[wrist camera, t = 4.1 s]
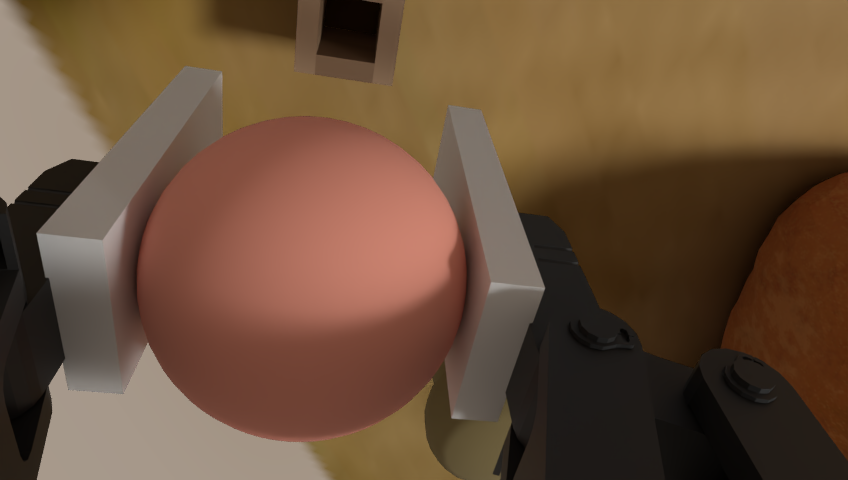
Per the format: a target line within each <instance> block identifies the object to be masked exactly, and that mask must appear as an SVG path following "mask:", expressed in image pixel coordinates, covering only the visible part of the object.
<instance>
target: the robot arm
mask: <svg viewBox="0 0 848 480" xmlns="http://www.w3.org/2000/svg"><path fill="white" fill-rule="evenodd" d="M222 137H223V121H222V71H216V70H209V69H202V68H195V67H189V66H185V67H184V68H183V69H182V70H181V71H180V73H179V74H178V75H177V76H176V77H175V78H174V79H173V80H172V81H171V83H170V84H169V85H168V86H167V87H166V88H165V89H164V90H163V92H162V93H161V94H160V95H159V96H158V97H157V98H156V99H155V101H154V102H153V103H152V104H151V105H150V106H149V107H148V108H147V110H146V111H145V112H144V113H143V114H142V115H141V116H140V117H139V119H138V120H137V121H136V122H135V123H134V124H133V125H132V126H131V127H130V129H129V130H128V131H127V132H126V133H125V134H124V135H123V136H122V138H121V139H120V140H119V141H118V142H117V143H116V144H115V145H114V147H113V148H112V149H111V150H110V151H109V152H108V153H107V154H106V156H105V157H104V158H103V159H102V160H101V161H100V162H92V161H84V160H76V159H71V160H68V161H66V162H64V163H62V164H59V165H57V166H55V167H53V168H51V169H48V170H46V171H44V172H43V173H42V174H41V175H40V176H39V177H38V178H37V179H36V180H35V181H34V182H33V183H32V184H31V185H30V186H29V187H28V190H25V191H24V192H23V193H21V195H19V196H18V197H17V198H16V199H15V203H14V204H10V205H9V206H8V207H7V204H6V202H5V201H4V200H3V199H2V198H1V197H0V480H37V476H38V471H39V467H40V463H41V458H42V454H43V450H44V445H45V441H46V436H47V432H48V428H49V424H50V419H51V415H52V402H51V395H50V391H49V387H48V385H49V384H50V382H51V380H52V379H53V377H54V376H55V374H56V372H57V371H58V369H59V368H60V366H61V364H62V363H63V366H64V371H65V375H66V380H67V386H68V390H77V391H91V392H104V393H118V394H124V391H125V389H126V387H127V385H128V383H129V381H130V379H131V377H132V374H133V372H134V370H135V368H136V366H137V364H138V362H139V360H140V358H141V356H142V353H143V351H144V349H145V347H146V345H147V343H148V340H147V337H146V335H145V332H144V329H143V325H142V321H141V317H140V313H139V307H138V302H137V271H136V268H137V262H138V255H139V250H140V245H141V240H142V236H143V233H144V230H145V228H146V225H147V222H148V219H149V217H150V215H151V213H152V211H153V209H154V207H155V205H156V203H157V201H158V200H159V198H160V196H161V194H162V192H163V191H164V189H165V188H166V187H167V186H168V185H169V183H170V182H171V181H172V180H173V178H174V177H175V176H176V175H177V174H178V172H179V171H180V170H181V169H182V167H183V166H184V165H185V164H187V163H188V162H189V161H190V160H191V159H192V158H193V157H194V156H196V155H197V154H198V153H199V152H201V151H202V150H203V149H205V148H206V147H208V146H209V145H211V144H212V143H214V142H216V141H217V140H219V139H220V138H222ZM433 179H434V181H435V182H436V184H437V185H438V187H439V188H440V190H441V191H442V192H443V194H444V196H445V197H446V199H447V200H448V202H449V204H450V207H451V209H452V211H453V213H454V215H455V217H456V220H457V223H458V227H459V230H460V233H461V236H462V239H463V243H464V249H465V256H466V265H467V290H466V298H465V305H464V310H463V316H462V319H461V322H460V325H459V328H458V331H457V333H456V336H455V339H454V342H453V345H452V346H451V348H450V350H449V352H448V354H447V356H446V358H445V367H446V376H447V385H448V393H449V402H450V411H451V418H452V419H465V420H478V421H492V422H498V420H499V417H500V414H501V411H502V408H503V405H504V403H505V400H506V398H507V402H508V407H509V411H510V416H511V420H512V423H511V426H510V428H509V431H508V434H507V436H506V439H505V442H504V444H503V447H502V450H501V452H500V455H499V458H498V460H497V463H496V466H495V468H494V471H493V474H494V475H497V476H499V475H500V473H501V478H500V480H848V461H847V459H846V458H845V457H844V455H843V454H842V452H841V451H840V450H839V448H838V447H837V446H836V444H835V443H834V442H833V440H832V439H831V438H830V436H829V435H828V434H827V432H826V431H825V429H824V428H823V427H822V425H821V424H820V423H819V421H818V420H817V419H816V417H815V416H814V415H813V413H812V412H811V411H810V409H809V408H808V407H807V405H806V404H805V402H804V401H803V400H802V398H801V397H800V396H799V394H798V393H797V392H796V390H795V389H794V388H793V386H792V385H791V384H790V383H789V382H788V381H787V380H786V379H785V378H784V377H783V376H782V375H781V374H780V373H779V372H778V371H776V370H775V369H773V368H772V367H770V366H769V365H768V364H766V363H765V362H764V361H762V360H760V359H758V358H756V357H753V356H752V355H749V354H746V353H744V352H739V351H735V350H731V349H727V348H724V349H711V350H709V351H708V352H706V353H704V354H702V356H701V357H700V359H699V361H698V363H697V364H696V366H695V368H694V369H693V368H690V367H687V366H684V365H681V364H678V363H675V362H672V361H669V360H666V359H663V358H660V357H656V356H654V355H651V354H649V353H646V352H644V351H643V350H642V345H641V343H640V341H639V338H638V336H637V334H636V333H635V332H634V331H633V330H632V329H631V327H630V326H629V325H628V324H627V323H626V322H625V321H623V320H621V319H620V318H618V317H617V316H615V315H614V314H612V313H610V312H608V311H605V310H603V309H600V308H599V306H598V303H597V301H596V299H595V297H594V295H593V293H592V290H591V288H590V286H589V284H588V282H587V280H586V277H585V275H584V273H583V271H582V269H581V267H580V266H578V263H579V262H578V260H577V258H576V256H575V254H574V252H572V247H571V245H570V243H569V241H568V239H567V236H566V234H565V232H564V231H563V230H562V229H561V228H560V227H558V226H557V225H556V224H555V223H554V222H553V221H552V220H551V219H550V218H549V217H548V216H540V215H532V214H524V213H518V211H517V209H516V206H515V203H514V200H513V197H512V195H511V192H510V189H509V186H508V184H507V181H506V178H505V175H504V172H503V170H502V167H501V164H500V161H499V159H498V156H497V153H496V150H495V148H494V145H493V142H492V139H491V136H490V134H489V131H488V128H487V125H486V123H485V120H484V117H483V114H482V111H481V110H478V109H471V108H465V107H458V106H451V105H448V109H447V114H446V119H445V124H444V129H443V133H442V138H441V143H440V148H439V153H438V158H437V163H436V168H435V173H434V178H433Z"/></svg>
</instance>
